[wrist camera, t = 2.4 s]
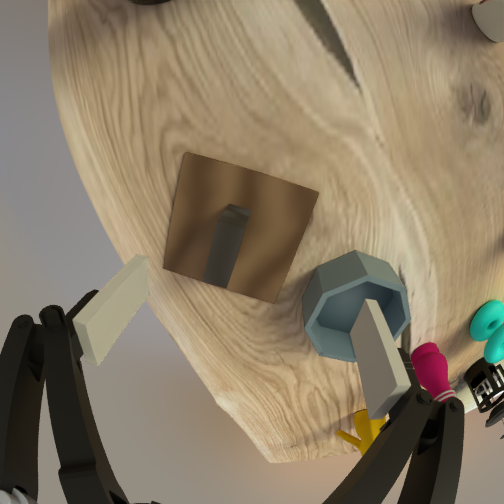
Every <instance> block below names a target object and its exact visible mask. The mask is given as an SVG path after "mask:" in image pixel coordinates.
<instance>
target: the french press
mask: <svg viewBox="0 0 504 504" xmlns="http://www.w3.org/2000/svg"><path fill="white" fill-rule="evenodd" d="M497 369H499V370H500V372H501V374H502V375H503V377H504V369H503V368H502V366H501V364H499V365H497V366H496V367H495V365H494V364H493V363H488V362H487V361H486V360H485V358H484V357H483V358H481V359H479V360H478V361H477V362H475V363H474V364H473V365H472V366H471V367H470V368H469V369H468V370H467V372H466V373H465V376H464V380H465V381H466V382H467V384H468V387H469V388H470V391H471V393H472V395H473V397H474V399H475V402H476V404H477V406H478V409H479V412H480V413H484V412H486V411H488V410H490V409H491V408H493V407H494V406H496V407H495V408H494V409H493V410H492V411H491V413H490V416H489V419H488V420H487V421H486V425H485V427H489V426H492V425H494V424H495V423H497V422H498V421H500V420H502V422H503V419H502V418H504V401H503V402H501V403H500V404H498V403H499V402H500V401H501V400H502V399H503V398H504V392H503V393H502V395H501V396H500V397H499V398H498V399H497V400H496V401H494V399H493V396H495V395H496V394H498V393H499V392H501V391H503V390H504V383H503V381H502V379H501V377H500V375H499V374H498V372H497ZM482 370H483V372H482V373H481V374H479V375H478V376H476V375H477V374H478V373H480V372H481V371H482ZM493 373H494V374H493ZM475 376H476V377H475ZM497 380H498V381H499V383H500V384H501V387H498V385H497V383H496V382H497ZM474 388H475V390H473V389H474ZM491 388H492V390H493V392H490V390H489V389H491ZM487 391H489V393H490V394H489V395H487V393H486V392H487ZM480 395H481V396H482V399H483V401H482V402H481V403H479V401H478V399H477V396H480ZM491 398H492V399H493V403H492V404H491V402H490V399H491ZM497 404H498V405H497ZM484 405H486V407H485V408H483V409H481V408H482V407H483V406H484ZM503 425H504V422H503ZM503 438H504V435H503V436H502V437H501V438H500V439H503Z"/></svg>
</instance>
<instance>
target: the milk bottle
mask: <svg viewBox="0 0 504 504" xmlns="http://www.w3.org/2000/svg"><path fill="white" fill-rule="evenodd" d="M472 15H473V18H474V20H475V22H476V24H477V26H478V27H479V29H480V30H481V31H482V32H483V33H484V35H486V36H487V37H488V38H489V39H490V40H492V41H495V42H504V0H482V1H480V2H478V3H476V4H474V5H473V7H472Z"/></svg>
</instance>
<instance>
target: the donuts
mask: <svg viewBox="0 0 504 504" xmlns="http://www.w3.org/2000/svg"><path fill="white" fill-rule="evenodd" d="M503 320H504V305H503V303H502V302H500V301H498V300H493V301H490V302H488V303H486V304H485V305H484V306H482V307H481V308H480V309H479V311H478V312H477V313H476V315H475V316H474V318H473V320H472V322H471V325H470V335H471V337H472V338H473V339H474V340H475V341H485V340H487V339H488V341H487V343H486V346H485V349H484V358H485V360H486V361H487V362H488V363H497V362H499V361H501V360H502V359H504V323H503ZM502 323H503V324H502Z"/></svg>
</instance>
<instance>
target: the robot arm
mask: <svg viewBox="0 0 504 504" xmlns="http://www.w3.org/2000/svg"><path fill="white" fill-rule="evenodd" d="M129 1H131V2H133V3H136V4H141V5H152V4H158V3H162V2H166V1H169V0H129ZM148 296H149V276H148V257H147V256H143V255H138V254H137V255H136V256H135V257H134V258H132V259H131V260H130V261H129V262H128V263H127V264H126V265H125V266H124V267H123V268H122V269H121V270H120V271H119V272H118V273H117V274H116V275H115V276H114V277H113V278H112V279H111V280H110V281H109V282H108V283H107V284H106V285H105V286H104V287H103V288H102V289H101V290H100V291H98V290H93V291H91V292H89V293H87V294H86V295H85V296H84V297H83V298H82V299H81V300H80V301H79V302H78V303H77V305H75V306H74V307H73V308H72V309H71V310H70V311H69V312H68V313H67V314H66V315H65V314H64V311H63V309H62V308H61V307H60V306H58V305H50V306H47V307H45V308H43V309H42V311H40V313H39V318H40V321H41V323H42V325H41V324H34V321H33V318H32V317H31V316H30V315H20V316H18V317H17V318H16V319H15V320H14V321H13V323H12V325H11V328H10V330H9V332H8V335H7V338H6V340H5V343H4V346H3V348H2V351H1V354H0V504H38V503H37V497H38V434H39V433H38V432H39V421H40V410H41V401H42V395H43V388H44V382H45V379H46V390H47V399H48V406H49V413H50V419H51V425H52V430H53V435H54V440H55V444H56V448H57V453H58V457H59V460H60V465H61V468H60V469H59V472H58V475H59V479H60V483H61V485H62V489H63V492H64V494H65V497H66V500H67V503H68V504H129V501H128V499H127V498H126V496H125V494H124V492H123V490H122V489H121V487H120V486H119V484H118V482H117V480H116V478H115V476H114V473H113V471H112V469H111V466H110V464H109V461H108V459H107V456H106V453H105V450H104V448H103V445H102V442H101V439H100V436H99V433H98V430H97V426H96V423H95V420H94V416H93V413H92V409H91V405H90V401H89V397H88V394H87V389H86V384H85V380H84V375H83V370H82V364H81V361H80V357H81V356H82V355H83V354H84V357H85V359H86V362H88V363H91V364H93V365H96V366H98V367H99V365H100V364H101V362H102V361H103V359H104V358H105V356H106V355H107V353H108V352H109V350H110V349H111V347H112V346H113V345H114V343H115V342H116V340H117V339H118V337H119V336H120V334H121V333H122V332H123V330H124V329H125V327H126V326H127V324H128V323H129V321H130V320H131V319H132V317H133V316H134V315H135V313H136V312H137V311H138V309H139V308H140V306H141V305H142V304H143V302H144V301H145V300H146V298H147V297H148ZM350 336H351V340H352V344H353V348H354V352H355V356H356V360H357V364H358V369H359V373H360V378H361V382H362V387H363V392H364V396H365V401H366V407H367V412H368V417H369V419H383V418H384V416H385V415H386V414H387V413H388V414H389V418H390V419H389V420H388V421H387V422H386V423H385V424H384V425H383V426H382V427H381V428H380V429H379V430H380V433H379V434H378V436H377V437H376V438H375V440H374V441H373V443H372V444H371V446H370V447H369V448H368V450H367V451H366V453H365V454H364V455H363V457H362V458H361V459H360V461H359V462H358V463H357V464H356V466H355V467H354V468H353V469H352V471H351V472H350V473H349V474H348V476H347V477H346V478H345V479H344V480H343V482H342V483H341V484H340V485H339V486H338V487H337V488H336V490H335V491H334V492H333V493H332V494H331V495H330V496H329V497H328V498H327V499H326V500H325V501H324V502H323V503H322V504H381V503H382V501H383V500H384V498H385V497H386V495H387V494H388V492H389V491H390V489H391V488H392V486H393V485H394V483H395V481H396V480H397V478H398V477H399V475H400V473H401V471H402V470H403V468H404V466H405V464H406V463H407V461H408V459H409V457H410V455H411V453H412V456H411V460H410V464H409V468H408V472H407V475H406V478H405V482H404V486H403V488H402V491H401V494H400V497H399V500H398V503H397V504H454V503H455V499H456V494H457V488H458V482H459V477H460V470H461V462H462V453H463V440H464V439H463V438H464V405H463V403H462V402H461V401H460V400H459V399H458V398H456V397H449V398H448V399H447V400H446V401H445V402H440V401H436V400H433V397H432V395H431V394H430V393H429V392H428V391H427V390H424V389H421V386H420V383H419V381H418V378H417V376H416V373H415V371H414V369H413V366H412V363H411V361H410V358H409V356H408V354H407V353H406V352H405V351H404V350H403V348H397V347H396V344H395V342H394V339H393V337H392V334H391V332H390V330H389V327H388V325H387V323H386V320H385V318H384V316H383V314H382V311H381V309H380V307H379V305H378V303H377V301H376V300H371V299H365V301H364V303H363V306H362V308H361V310H360V312H359V315H358V317H357V319H356V321H355V323H354V325H353V328H352V330H351V332H350ZM412 451H413V452H412ZM136 504H149V503H136ZM151 504H160V503H157V502H154V501H152V502H151Z"/></svg>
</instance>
